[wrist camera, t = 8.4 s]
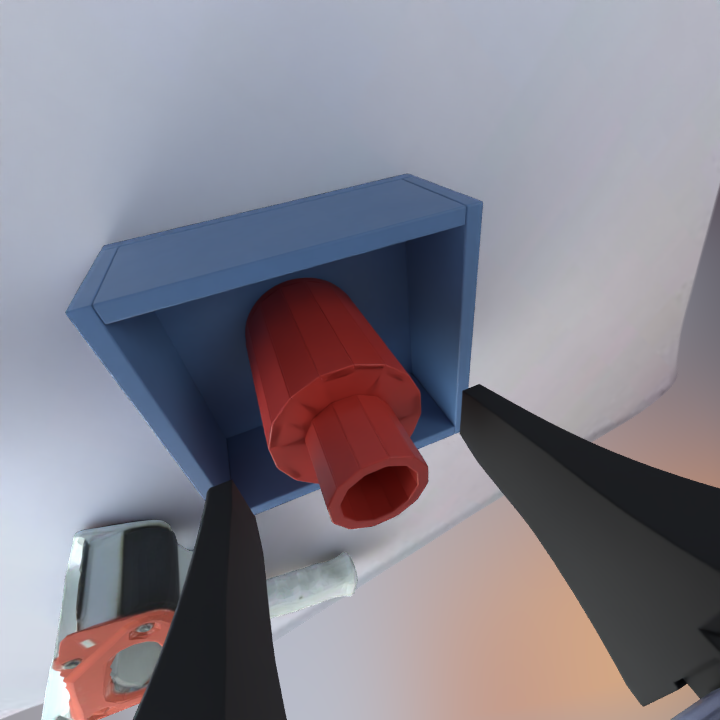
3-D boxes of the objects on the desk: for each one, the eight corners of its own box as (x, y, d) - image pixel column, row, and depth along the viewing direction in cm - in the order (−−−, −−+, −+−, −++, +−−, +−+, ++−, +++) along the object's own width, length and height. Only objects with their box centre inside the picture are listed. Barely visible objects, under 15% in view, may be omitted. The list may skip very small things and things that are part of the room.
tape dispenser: (354, 539, 33) (213, 439, 19) (380, 599, 30) (229, 529, 16) (189, 653, 33) (-84, 634, 18) (195, 729, 29) (-142, 779, 15)
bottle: (264, 389, 18) (310, 574, 11) (227, 296, 15) (259, 476, 8) (362, 356, 19) (459, 506, 12) (347, 262, 16) (468, 396, 9)
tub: (217, 441, 19) (224, 528, 15) (102, 245, 13) (63, 312, 9) (416, 370, 22) (465, 430, 18) (408, 172, 15) (484, 200, 11)
